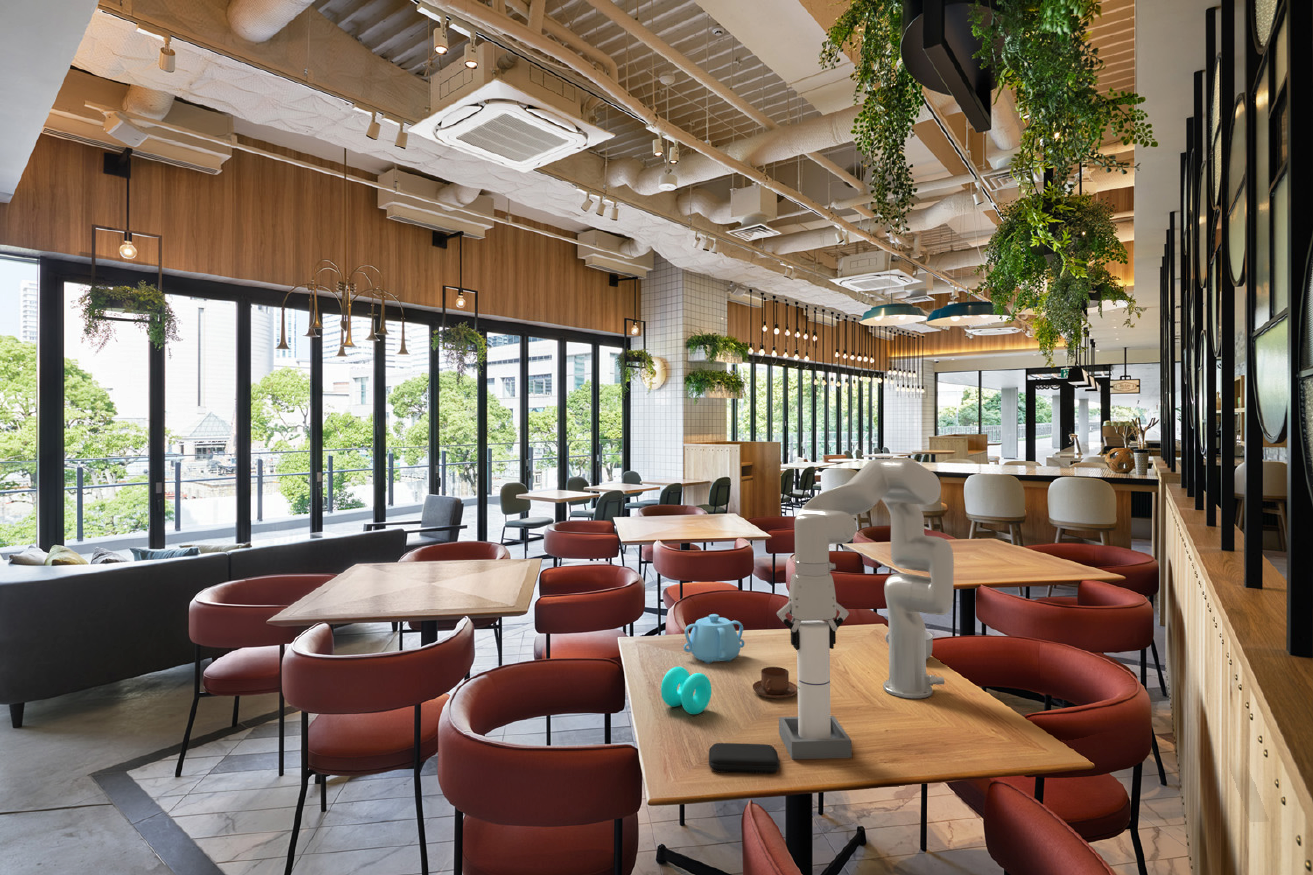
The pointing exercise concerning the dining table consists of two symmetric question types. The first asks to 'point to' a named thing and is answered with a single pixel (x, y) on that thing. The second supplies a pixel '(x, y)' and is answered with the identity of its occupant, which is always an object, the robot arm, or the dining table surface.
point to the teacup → (928, 643)
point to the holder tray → (814, 741)
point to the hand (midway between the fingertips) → (813, 647)
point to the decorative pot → (714, 639)
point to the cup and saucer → (775, 683)
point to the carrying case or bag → (743, 758)
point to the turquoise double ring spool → (686, 690)
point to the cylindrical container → (814, 680)
